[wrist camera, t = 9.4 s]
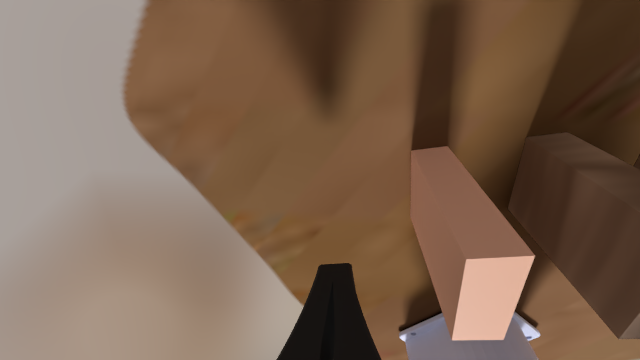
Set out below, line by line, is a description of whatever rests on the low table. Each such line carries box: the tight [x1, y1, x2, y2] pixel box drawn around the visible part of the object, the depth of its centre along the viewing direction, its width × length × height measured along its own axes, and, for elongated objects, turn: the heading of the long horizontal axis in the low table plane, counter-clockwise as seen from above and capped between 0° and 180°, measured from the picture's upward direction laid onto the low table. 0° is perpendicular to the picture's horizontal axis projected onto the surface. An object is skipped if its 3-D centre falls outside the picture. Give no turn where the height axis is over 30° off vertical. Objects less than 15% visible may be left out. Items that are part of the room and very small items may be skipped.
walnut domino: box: [508, 132, 640, 339], centre depth 12 cm, size 2×5×8 cm, turn 10°
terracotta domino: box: [410, 146, 535, 340], centre depth 13 cm, size 2×5×8 cm, turn 10°
